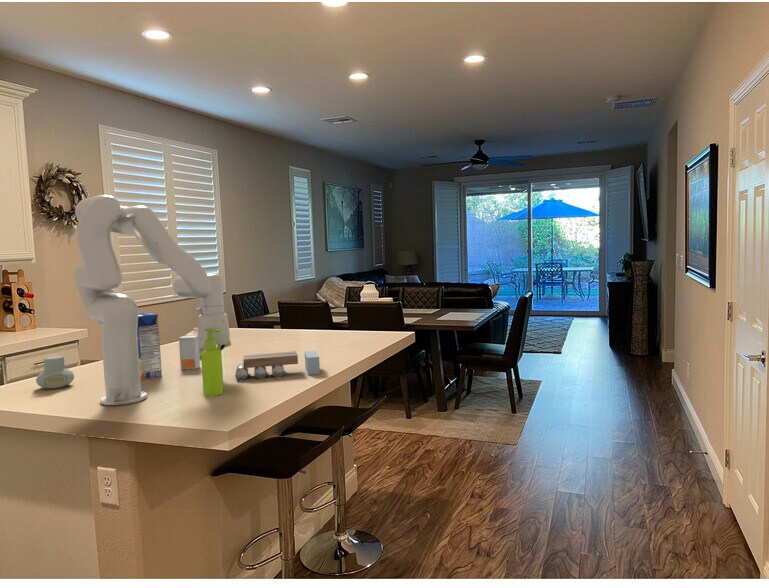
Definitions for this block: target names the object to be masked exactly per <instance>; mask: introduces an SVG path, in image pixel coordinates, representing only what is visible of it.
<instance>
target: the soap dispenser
mask: <svg viewBox="0 0 769 588" xmlns="http://www.w3.org/2000/svg"><path fill="white" fill-rule="evenodd" d="M204 331H207V339H206V340H205V350H204V351H202V352H201V357H200V363H201V373H202V375H201V376H202V390H203V391H202V392H203V396H205V397H215V395H217V396H221V395H223V394H224V393H225V392H224V390H225V389H224V376H223V375H224V373H223V360H222V359H223V358H222V357H223V355H222V351H221V350H219V349H217V344H216V339H215V338H213V332H220V331H221V330H220V329H217V328H209V329H204ZM220 394H221V395H220Z"/></svg>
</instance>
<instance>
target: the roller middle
mask: <svg viewBox="0 0 769 588" xmlns="http://www.w3.org/2000/svg"><path fill="white" fill-rule="evenodd" d="M253 368H254V372H253V374H254V377H255V378H256V379H257V380H263V379H262V378H264V379H265V378H266V377H267V366H265V367H253Z"/></svg>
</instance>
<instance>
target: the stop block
mask: <svg viewBox="0 0 769 588" xmlns="http://www.w3.org/2000/svg"><path fill="white" fill-rule="evenodd" d="M320 364H321V363H320V356H319V355H318V352H317V351H316V350H311V351H304V366H305V367H304V368H305V371H306V373H307V376H313V375H315V374H316V375H321V371H320V370H321V369H320V368H321V365H320Z"/></svg>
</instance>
